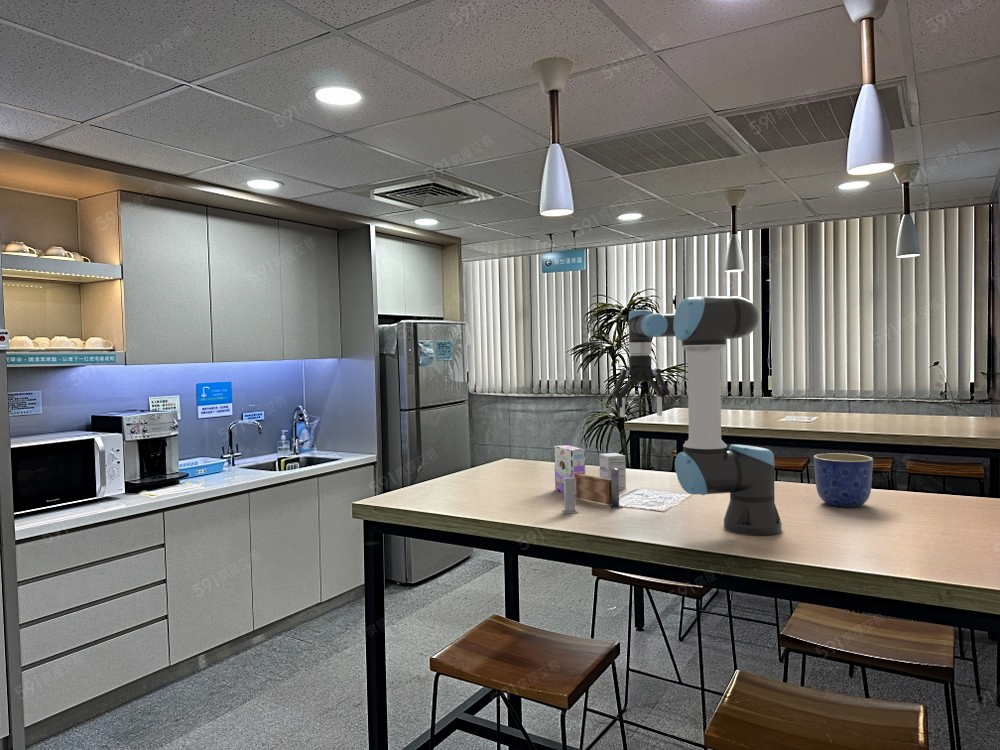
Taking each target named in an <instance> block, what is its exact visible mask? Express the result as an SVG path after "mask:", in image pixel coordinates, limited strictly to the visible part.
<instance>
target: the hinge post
mask: <svg viewBox="0 0 1000 750" xmlns="http://www.w3.org/2000/svg"><path fill="white" fill-rule="evenodd" d="M611 489H612V505H608V507H609V508H610V509H613V510H614V509H623V508H624V507H623V506H622V505H621V504H620V490H619V470H618V469H616V468H614V469H612V470H611Z"/></svg>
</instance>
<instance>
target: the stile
mask: <svg viewBox="0 0 1000 750" xmlns="http://www.w3.org/2000/svg"><path fill="white" fill-rule="evenodd" d="M563 480H564V493H563V507H564V508H563V509H561V512H562V513H563V514H565V515H570V514H571V515H572V514H579V511H578V510H577V508H576V496H575V481H576V478H574V477H563Z"/></svg>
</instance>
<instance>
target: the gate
mask: <svg viewBox="0 0 1000 750" xmlns="http://www.w3.org/2000/svg"><path fill="white" fill-rule="evenodd" d="M575 478H576V496H575V499H580V500H584V501H589V502H594V503H600V504H604V505H612V489H611V479H607V478H601V477H600V476H594V475H589V474H585V475H584V474H575Z"/></svg>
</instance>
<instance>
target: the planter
mask: <svg viewBox="0 0 1000 750" xmlns="http://www.w3.org/2000/svg"><path fill="white" fill-rule="evenodd" d="M813 465H814V477H815V488H816V491H817V492H816V493H817V494H818V497H819V498H820V499H821V501H823V502H824V503H826V504H827V505H830V506H833V505H834V506H833V507H838V506H841V507H840V508H857V507H860V506H863V505H864V504H866V502H868V500H869V498H870V496H871V492H872V480H873V471H874V470H873V468H874V457H871V456H868V455H863V454H855V453H839V452H838V453H835V452H832V453H820V454H819V453H818V454H815V455H813ZM856 506H857V507H856Z"/></svg>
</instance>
